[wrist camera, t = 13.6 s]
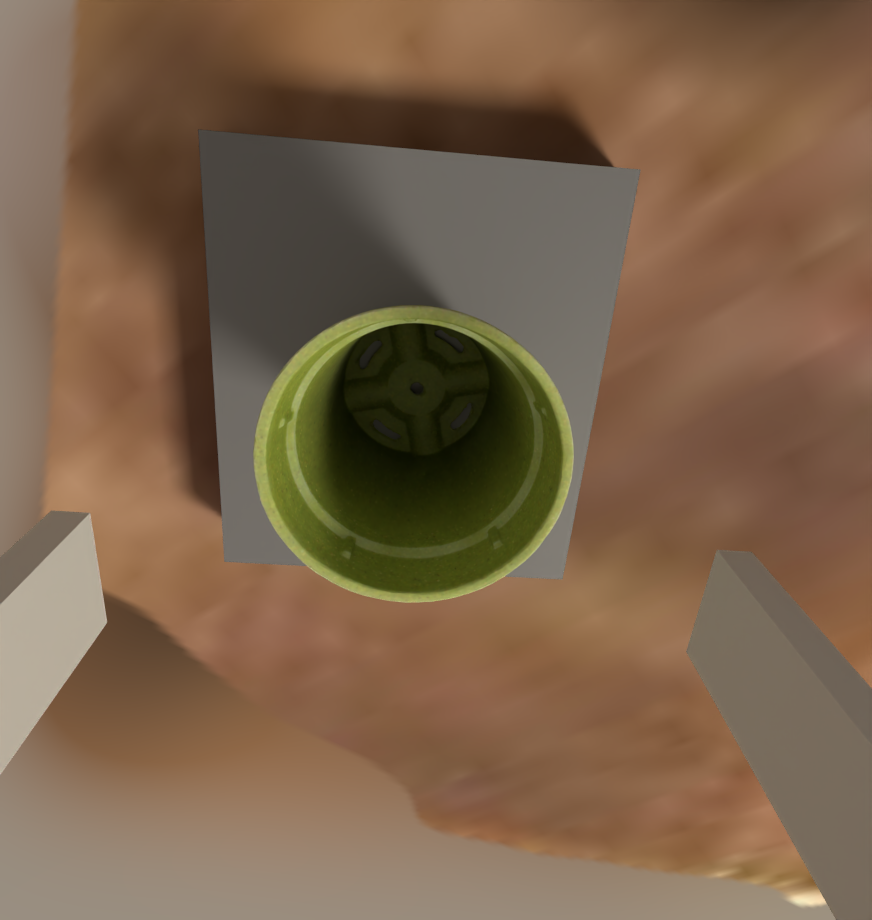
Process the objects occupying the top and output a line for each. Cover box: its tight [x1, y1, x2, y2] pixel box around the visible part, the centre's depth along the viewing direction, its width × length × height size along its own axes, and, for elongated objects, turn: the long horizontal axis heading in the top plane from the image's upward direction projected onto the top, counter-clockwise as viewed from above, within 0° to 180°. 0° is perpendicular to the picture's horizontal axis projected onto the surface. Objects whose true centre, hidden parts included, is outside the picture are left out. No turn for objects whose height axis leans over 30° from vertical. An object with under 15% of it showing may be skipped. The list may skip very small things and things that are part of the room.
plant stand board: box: [198, 130, 640, 579], centre depth 28 cm, size 18×16×3 cm
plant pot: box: [253, 305, 574, 603], centre depth 23 cm, size 9×9×9 cm
